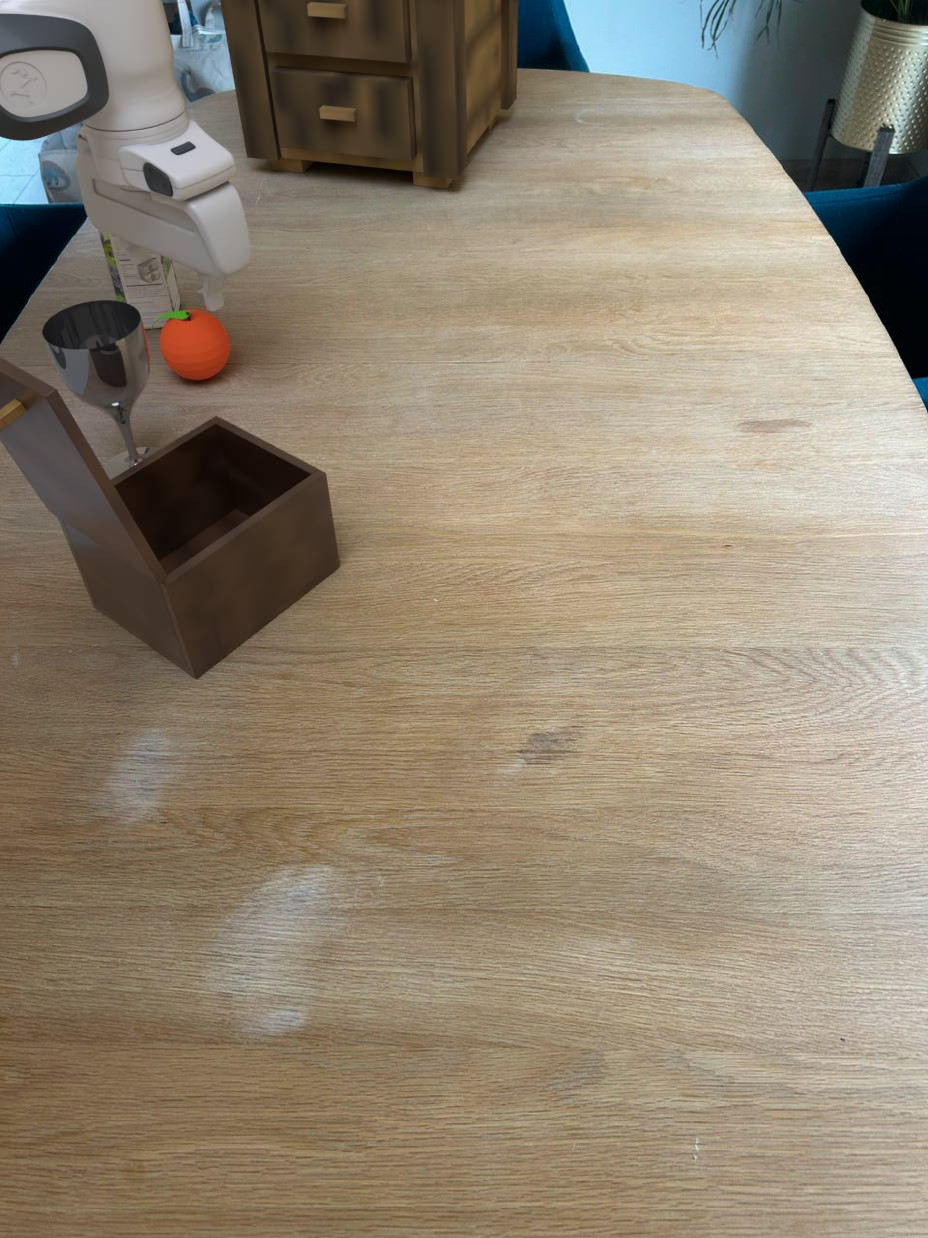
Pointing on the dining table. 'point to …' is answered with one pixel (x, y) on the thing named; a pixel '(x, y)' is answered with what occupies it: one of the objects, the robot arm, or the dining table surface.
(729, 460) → the dining table surface
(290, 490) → the chest
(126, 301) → the syrup box
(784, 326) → the dining table surface
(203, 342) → the clementine
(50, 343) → the wine glass
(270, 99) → the wooden drawer cabinet
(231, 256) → the robot arm
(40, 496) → the lid
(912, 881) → the dining table surface
